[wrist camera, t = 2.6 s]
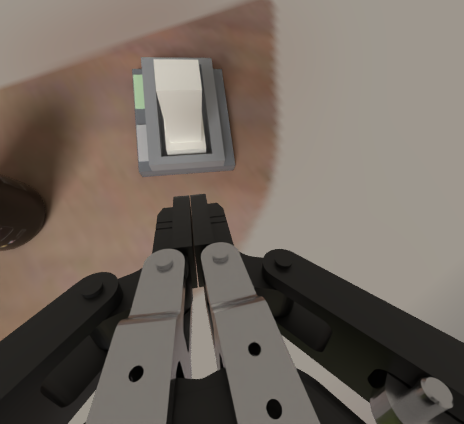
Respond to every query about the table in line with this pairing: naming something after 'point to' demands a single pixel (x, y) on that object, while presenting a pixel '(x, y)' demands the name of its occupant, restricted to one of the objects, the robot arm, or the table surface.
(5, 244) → the supplement bottle
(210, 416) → the robot arm
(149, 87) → the grey slotted stand
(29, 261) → the table surface
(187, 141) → the block
